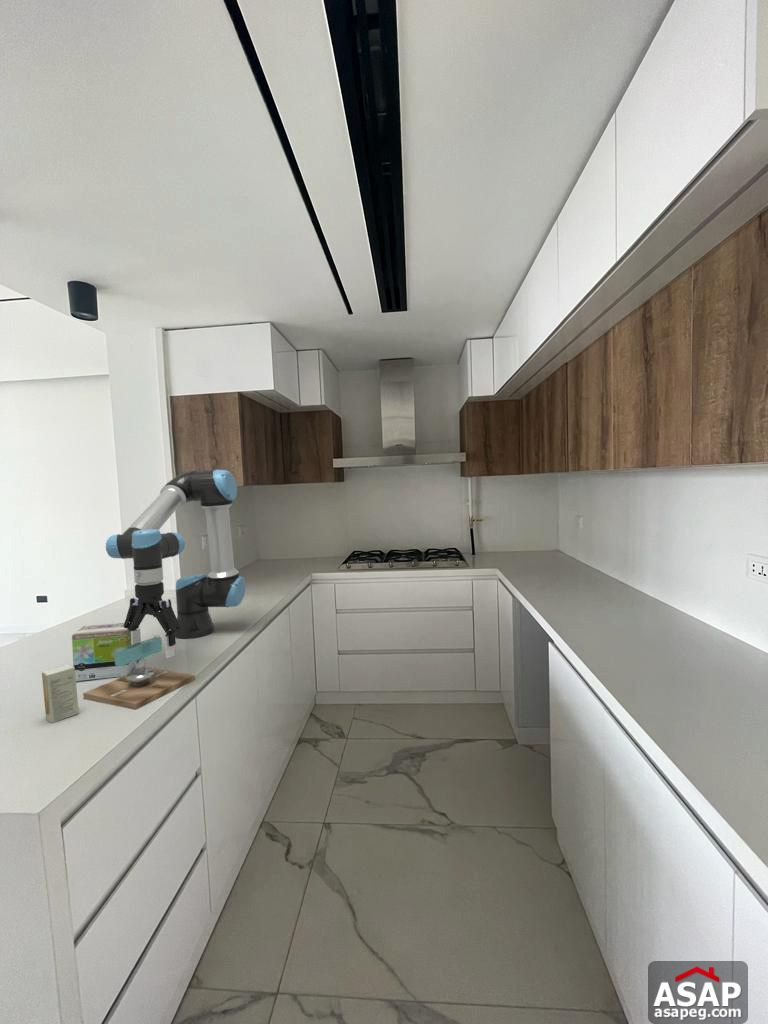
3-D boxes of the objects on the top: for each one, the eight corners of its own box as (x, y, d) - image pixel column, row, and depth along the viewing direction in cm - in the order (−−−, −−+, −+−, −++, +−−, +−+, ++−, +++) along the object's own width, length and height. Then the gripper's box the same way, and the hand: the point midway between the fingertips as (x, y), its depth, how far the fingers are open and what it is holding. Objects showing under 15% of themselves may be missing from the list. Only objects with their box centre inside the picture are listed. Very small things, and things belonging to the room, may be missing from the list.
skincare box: (73, 709, 121) (70, 663, 121) (79, 713, 118) (76, 666, 118) (43, 719, 116) (40, 670, 116) (49, 724, 113) (46, 674, 113)
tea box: (73, 683, 139) (70, 634, 138) (85, 671, 148) (82, 625, 148) (129, 676, 143) (126, 628, 142) (137, 665, 152) (134, 620, 152)
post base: (145, 671, 146) (145, 662, 146) (194, 679, 138) (194, 669, 138) (83, 698, 128) (82, 687, 127) (135, 709, 120) (135, 698, 120)
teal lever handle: (110, 684, 128) (108, 646, 128) (152, 667, 140) (150, 633, 140) (127, 688, 125) (125, 649, 125) (168, 670, 137) (166, 635, 137)
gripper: (107, 583, 137) (111, 654, 138) (170, 587, 128) (174, 663, 129) (130, 578, 144) (134, 645, 145) (191, 582, 135) (195, 654, 136)
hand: (153, 654), depth 137 cm, fingers open, 13 cm apart
